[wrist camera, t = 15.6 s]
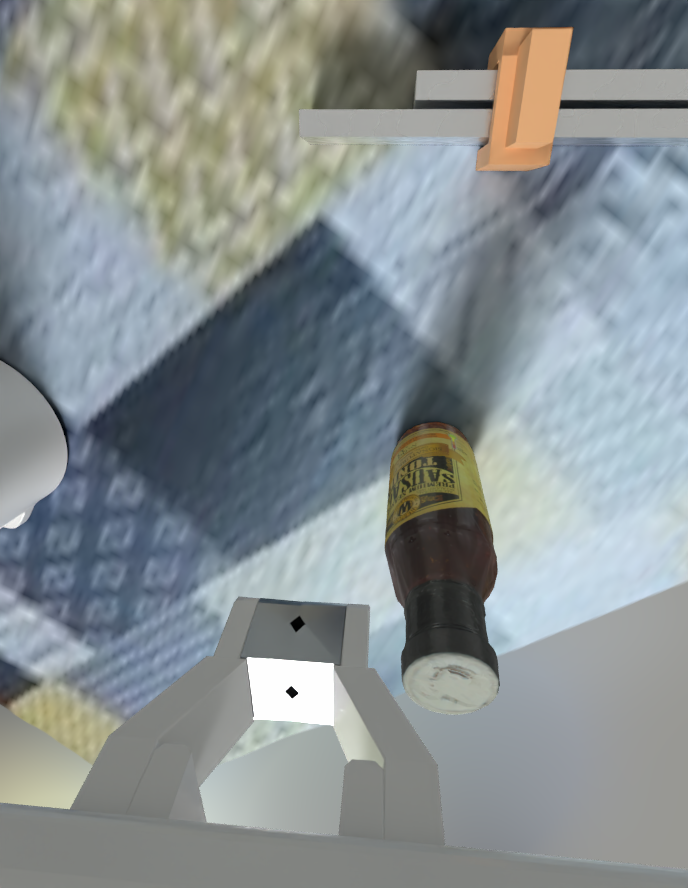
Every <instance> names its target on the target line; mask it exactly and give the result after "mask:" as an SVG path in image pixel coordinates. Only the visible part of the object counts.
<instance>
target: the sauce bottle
mask: <svg viewBox="0 0 688 888" xmlns="http://www.w3.org/2000/svg"><path fill="white" fill-rule="evenodd" d="M385 538H386V539H385V553H386V557H387V561H388V566H389V570H390V574H391V578H392V582H393V586H394V590H395V594H396V597H397V600H398V602H400V604H401V605H402V606H403V608H404V615H405V620H406V643H405V647H404V649H403V651H402V655H401V664H402V665H401V669H402V682H403V686H404V689H405V691H406V693H407V695H408V696H409V697H410V698H411V700H412V701H414V702H415V703H416V704H418V705H419V706H421V707H423V708H425V709H428V710H431V711H433V712H439V713H444V714H454V715H458V714H465V713H470V712H474V711H476V710H479V709H481V708H483V707H485V706H487V705H489V704H490V703H491V702H492V701H493V700H494V699H495V697H496V695H497V693H498V689H499V686H500V683H499V673H498V661H497V656H496V653H495V651H494V649H493V648H492V647H491V646H490V644H489V643H488V637H487V632H486V624H485V615H486V614H485V607H484V602H485V600H486V599H487V598H488V597H489V596H490V593H491V592H492V590H493V588H494V584H495V580H496V577H497V570H498V569H497V557H496V554H495V551H494V546H493V532H492V528H491V524H490V519H489V515H488V511H487V507H486V503H485V499H484V494H483V490H482V486H481V481H480V477H479V472H478V468H477V464H476V460H475V456H474V453H473V450H472V449H471V447H470V445H469V443H468V441H467V439H466V437H465V436H464V435H463V433H462V432H460V431H459V430H458V429H457V428H455V427H453V426H451V425H449V424H445V423H441V422H430V423H424V424H420V425H417V426H414V427H413V428H412V429H409V430H407V431H406V432H405V434H404V435H403V436H402V437H401V439H400V441H398V443H397V446H396V448H395V449H394V452H393V455H392V458H391V466H390V480H389V493H388V507H387V524H386V535H385Z"/></svg>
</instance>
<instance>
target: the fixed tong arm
mask: <svg viewBox="0 0 688 888" xmlns="http://www.w3.org/2000/svg"><path fill="white" fill-rule="evenodd" d="M492 112H493V109H299V128H300V137H301V138H302V139H304V140H305V141H306V142H308V143H309V144H310V145H487V144H488V143H489V136H490V128H491V120H492ZM553 146H688V109H559V112H558V118H557V123H556V129H555V134H554V140H553Z"/></svg>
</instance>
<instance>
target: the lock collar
mask: <svg viewBox="0 0 688 888" xmlns="http://www.w3.org/2000/svg"><path fill="white" fill-rule="evenodd" d="M573 28H574V27H543V28H506V29H505V30H504V32H503V34H502V35H501V37H500V39H499V40H498V42H497V44H496V45H495V47H494V49H493V50H492V52H491V53H490V55H489V61H488V70H498V73H497V81H496V89H495V96H494V104H493V112H492V120H491V128H490V136H489V143H488V144H487V145H485V146H484V147H483V148H481V149H480V150H478V154H477V162H476V171H529V170H533V169H536V168H540V167H543V166H547V165H549V163H550V157H551V151H552V146H553V140H554V134H555V129H556V123H557V118H558V112H559V106H560V101H561V95H562V90H563V84H564V78H565V73H566V67H567V62H568V56H569V50H570V45H571V39H572V34H573Z"/></svg>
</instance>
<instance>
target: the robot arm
mask: <svg viewBox="0 0 688 888" xmlns="http://www.w3.org/2000/svg"><path fill="white" fill-rule="evenodd" d="M66 466H67V445H66V440H65V436H64V433H63V430H62V427H61V425H60V423H59V420H58V418H57V416H56V415H55V413H54V411H53V409H52V408H51V406H50V405H49V403H48V402H47V401H46V399H45V398H44V397H43V395H42V394H41V393H40V392H39V391H38V390H37V389H36V388H35V387H34V386H33V385H32V384H31V383H30V382H29V381H28V380H27V379H26V378H25V377H24V376H22V375H21V374H20V373H19V372H17V371H16V370H15V369H13V368H12V367H10V366H9V365H7V364H6V363H4V362H2V361H1V360H0V529H1V528H2V527H6V528H16V527H18V526H20V525H21V524H23V523H24V522H26V521H27V519H28V518H29V516H30V514H31V512H32V510H33V507H34V505H35V504H36V503H37V502H38V501H39V500H41V499H42V498H44V497H46V496H47V495H49V494H50V493H51V492H52V491H54V490H55V489H56V487H57V486H58V485H59V484H60V482H61V480H62V478H63V476H64V474H65V470H66ZM369 621H370V606H369V605H359V604H340V603H321V602H298V601H287V600H276V599H265V598H260V599H259V598H248V597H238V598H237V599H236V601H235V602H234V604H233V607H232V609H231V612H230V615H229V617H228V620H227V622H226V625H225V628H224V630H223V633H222V635H221V638H220V641H219V643H218V646H217V648H216V651H215V653H214V656H213V657H212V656H206V657H205V658H204V659H203V660H201V661H200V662H199V663H198V664H196V665H195V666H194V667H193V668H192V669H190V670H189V671H188V672H187V673H185V674H184V675H183V676H182V677H180V678H179V679H178V680H177V681H176V682H174V683H173V684H172V685H171V686H169V687H168V688H167V689H166V690H164V691H163V692H162V693H161V694H160V695H158V696H157V697H156V698H155V699H153V700H152V701H151V702H150V703H149V704H147V705H146V706H145V707H144V708H142V709H141V710H140V711H139V712H137V713H136V714H135V715H134V716H133V717H131V718H130V719H129V720H128V721H126V722H125V723H124V724H123V725H121V726H120V727H119V728H118V729H117V730H115V731H114V732H113V733H112V734H110V735H109V736H108V738H107V740H106V742H105V744H104V746H103V748H102V750H101V751H100V753H99V755H98V757H97V759H96V761H95V763H94V765H93V767H92V768H91V771H90V772H89V774H88V776H87V778H86V780H85V782H84V784H83V785H82V787H81V789H80V791H79V793H78V795H77V797H76V799H75V800H74V803H73V804H72V806H71V808H70V809H59V808H50V807H38V806H28V805H18V804H8V803H0V888H688V869H683V868H673V867H662V866H652V865H642V864H631V863H621V862H611V861H599V860H590V859H579V858H569V857H559V856H548V855H537V854H527V853H517V852H507V851H496V850H486V849H475V848H465V847H454V846H445V840H444V829H443V818H442V807H441V797H440V786H439V775H438V765H437V763H436V762H435V760H434V759H433V757H432V756H431V754H430V753H429V751H428V749H427V748H426V746H425V745H424V743H423V742H422V740H421V739H420V737H419V736H418V734H417V733H416V731H415V730H414V728H413V727H412V725H411V723H410V722H409V720H408V719H407V717H406V716H405V714H404V713H403V711H402V710H401V708H400V707H399V705H398V704H397V702H396V701H395V699H394V697H393V696H392V694H391V693H390V691H389V690H388V688H387V687H386V685H385V684H384V682H383V681H382V679H381V678H380V676H379V674H378V673H377V671H376V670H375V668H368V647H369ZM254 719H267V720H287V721H300V722H309V723H318V724H327V725H333V728H334V730H335V733H336V735H337V737H338V739H339V742H340V744H341V746H342V749H343V751H344V753H345V756H346V758H347V760H348V762H349V763H348V764H347V765H346V766H345V770H344V780H343V792H342V803H341V815H340V825H339V835H330V834H321V833H310V832H299V831H289V830H278V829H269V828H258V827H247V826H237V825H227V824H216V823H207V822H206V817H205V813H204V808H203V804H202V799H201V795H200V790H199V787H200V785H201V784H202V783H203V782H204V781H205V780H206V778H207V777H208V776H209V775H210V773H211V772H212V771H213V770H214V769H215V767H216V766H217V765H218V764H219V763H220V762H221V760H222V759H223V758H224V757H225V756H226V754H227V753H228V752H229V751H230V750H231V748H232V747H233V746H234V745H235V744H236V742H237V741H238V740H239V739H240V738H241V736H242V735H243V734H244V733H245V732H246V730H247V729H248V728H249V727H250V726H251V724H252V723H253V722H254Z"/></svg>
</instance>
